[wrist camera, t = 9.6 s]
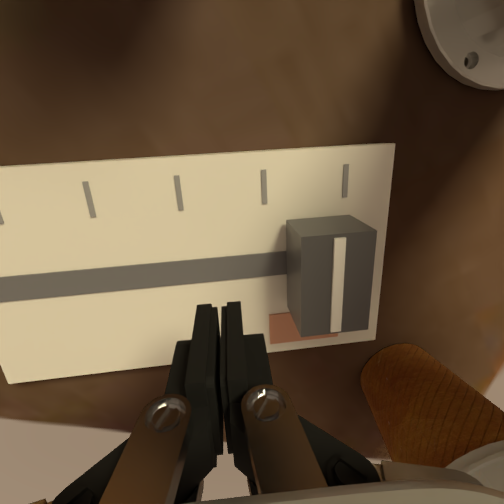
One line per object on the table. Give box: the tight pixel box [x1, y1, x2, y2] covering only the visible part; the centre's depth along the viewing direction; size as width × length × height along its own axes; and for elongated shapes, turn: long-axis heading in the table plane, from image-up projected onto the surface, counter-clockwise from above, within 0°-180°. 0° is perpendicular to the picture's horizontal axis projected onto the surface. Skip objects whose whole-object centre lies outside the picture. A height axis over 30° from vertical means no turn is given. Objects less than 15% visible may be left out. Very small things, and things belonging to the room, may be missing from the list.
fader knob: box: [286, 215, 377, 337], centre depth 19 cm, size 4×6×4 cm, turn 3°
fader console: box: [0, 143, 395, 384], centre depth 21 cm, size 26×14×2 cm, turn 93°
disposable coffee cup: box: [360, 343, 504, 492], centre depth 21 cm, size 10×10×12 cm
